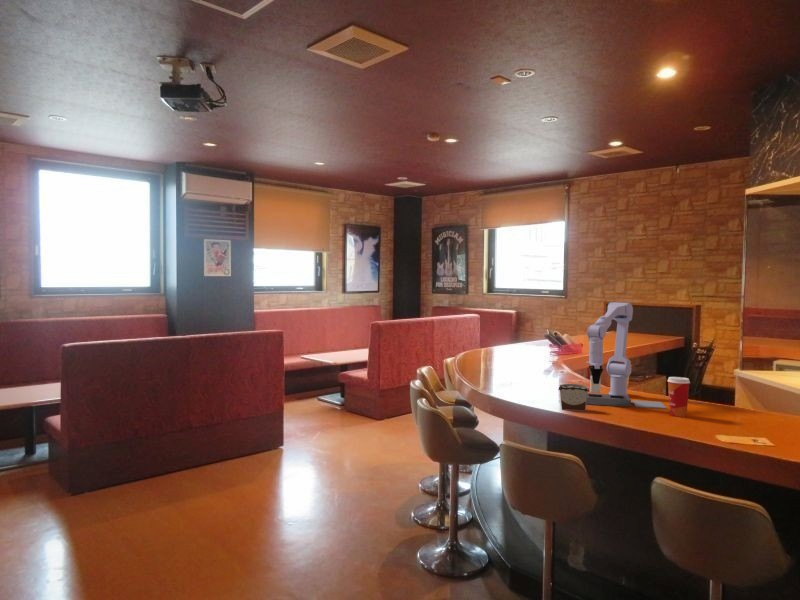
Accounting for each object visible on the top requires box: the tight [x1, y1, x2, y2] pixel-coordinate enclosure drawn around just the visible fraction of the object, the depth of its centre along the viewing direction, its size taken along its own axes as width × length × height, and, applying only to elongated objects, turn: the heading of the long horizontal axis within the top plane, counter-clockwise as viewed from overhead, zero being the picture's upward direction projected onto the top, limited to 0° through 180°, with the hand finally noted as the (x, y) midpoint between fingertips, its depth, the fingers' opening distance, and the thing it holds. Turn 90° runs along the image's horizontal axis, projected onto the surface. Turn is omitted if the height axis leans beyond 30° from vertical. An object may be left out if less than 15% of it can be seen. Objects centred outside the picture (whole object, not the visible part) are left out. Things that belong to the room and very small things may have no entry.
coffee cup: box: [666, 376, 691, 418], centre depth 216 cm, size 8×8×15 cm
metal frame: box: [586, 392, 632, 408], centre depth 239 cm, size 10×20×3 cm, turn 75°
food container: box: [558, 383, 590, 412], centre depth 227 cm, size 12×6×10 cm, turn 74°
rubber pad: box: [631, 399, 668, 410], centre depth 235 cm, size 12×12×1 cm
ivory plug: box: [589, 375, 602, 394], centre depth 240 cm, size 4×4×7 cm
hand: (595, 382), depth 240 cm, fingers closed on ivory plug, 4 cm apart
